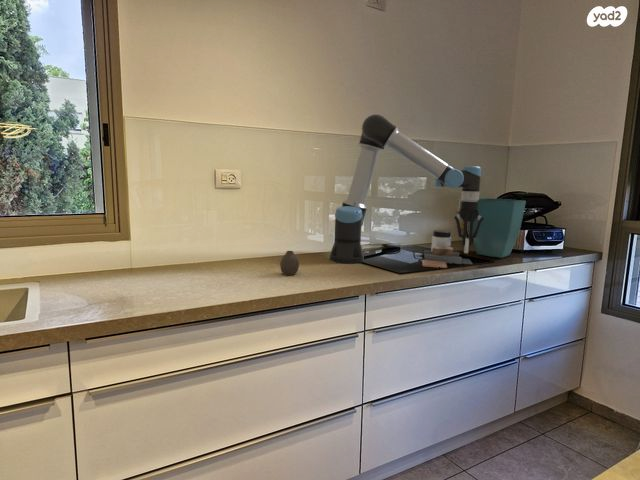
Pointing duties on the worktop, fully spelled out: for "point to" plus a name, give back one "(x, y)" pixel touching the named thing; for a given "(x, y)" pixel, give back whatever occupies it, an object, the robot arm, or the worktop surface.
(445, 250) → the block
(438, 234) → the jar
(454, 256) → the channel
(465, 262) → the trap mat
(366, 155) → the robot arm
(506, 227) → the flower pot
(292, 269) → the vase
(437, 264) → the block
